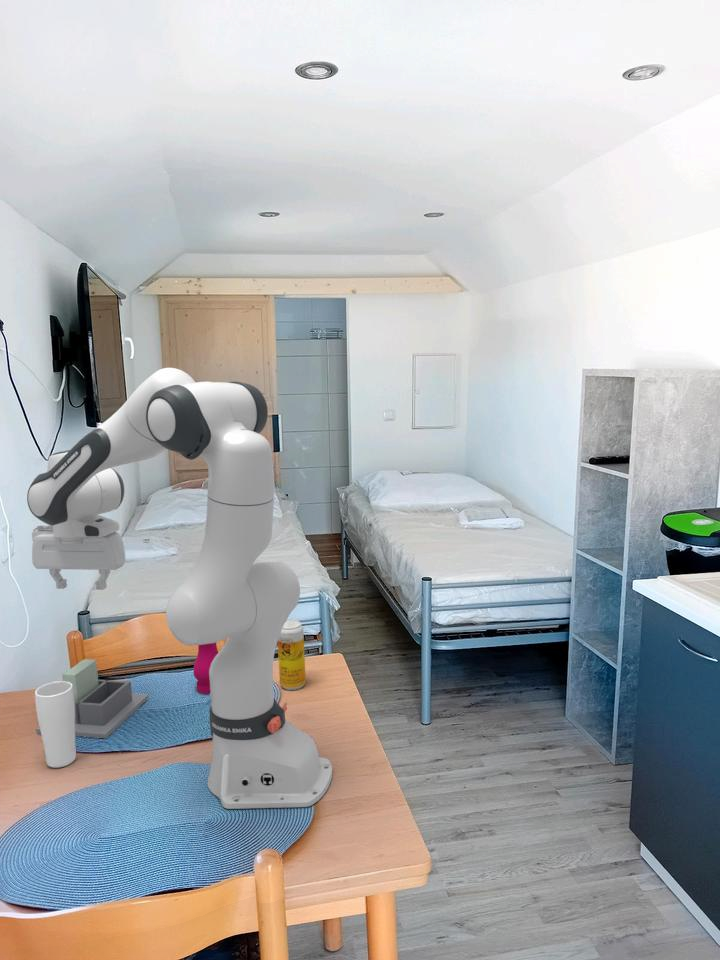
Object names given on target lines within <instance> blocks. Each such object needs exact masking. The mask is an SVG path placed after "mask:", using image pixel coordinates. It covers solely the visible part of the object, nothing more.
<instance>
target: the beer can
mask: <svg viewBox="0 0 720 960" xmlns="http://www.w3.org/2000/svg"><path fill="white" fill-rule="evenodd" d="M304 636H305V635H304V627H303V625H302V623H301V621H299V620H293V619H292V620H291V619H290V620H286V621H285V623H284V626H283V628H282V630H281V633H280V636H279V639H278V642H277V655H278V656H277V657H278V677H279V685H280V687H282V688H283V689H284V690H287V691H296V690H299V689H302V688H303V687H304V686H305V684H306V682H307V679H306V678H307V677H306V676H307V675H306V657H305V640H304V639H305V638H304Z"/></svg>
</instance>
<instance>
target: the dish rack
mask: <svg viewBox="0 0 720 960" xmlns="http://www.w3.org/2000/svg"><path fill="white" fill-rule="evenodd" d="M98 683H99V686H98V687H96V688H95V689H94V690H93V691H91V692H90V693H89V694H88V695H86V696H85V697H84V698H82V699H81V700H80V701H79V702H75V736H85V737H84V738H87V737H94V738H93V739H99V738H106V737H107V738H109V737H108V736H109V735H110V734H111V733H112V732H113V731H114V730H115V729H116V728H117V729H118V728H120V727H121V725H123V724H124V723H125V722H126V721H127V720H128V719H129V718H130V717H131V716H132V715H134V714H135V713H136V711H138V709H140V708H141V707H142V706H143V705H144V704H145V703H146V702H147V701H148V700H149V699H150V697H149V696H150V694H148V693H147V694H146V693H132V692H133V691H132V682H131V681H129V680H127V681H126V680H111V679H100V678H98ZM148 698H149V699H148ZM147 699H148V700H147ZM146 700H147V701H146ZM145 701H146V702H145ZM144 702H145V703H144ZM143 703H144V704H143ZM142 704H143V705H142ZM141 705H142V706H141ZM140 706H141V707H140ZM139 707H140V708H139ZM128 717H129V718H128ZM127 718H128V719H127ZM126 719H127V720H126ZM125 720H126V721H125ZM124 721H125V722H124ZM117 729H116V730H117ZM116 730H115V731H116ZM35 731H36V734H40V735H41V731H40V726H39V725H38V727H37V728H35ZM115 731H114V732H115ZM114 732H113V733H114ZM113 733H112V734H113ZM112 734H111V735H112ZM111 735H110V736H111ZM96 737H98V738H96ZM107 738H106V739H107Z"/></svg>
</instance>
